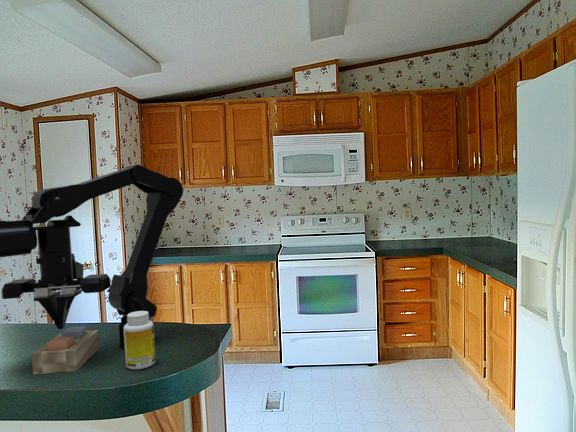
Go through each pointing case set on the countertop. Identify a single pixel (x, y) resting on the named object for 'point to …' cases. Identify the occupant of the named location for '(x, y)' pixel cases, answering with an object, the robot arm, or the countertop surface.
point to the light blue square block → (74, 332)
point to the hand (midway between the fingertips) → (61, 328)
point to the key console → (66, 355)
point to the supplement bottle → (139, 340)
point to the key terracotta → (60, 343)
